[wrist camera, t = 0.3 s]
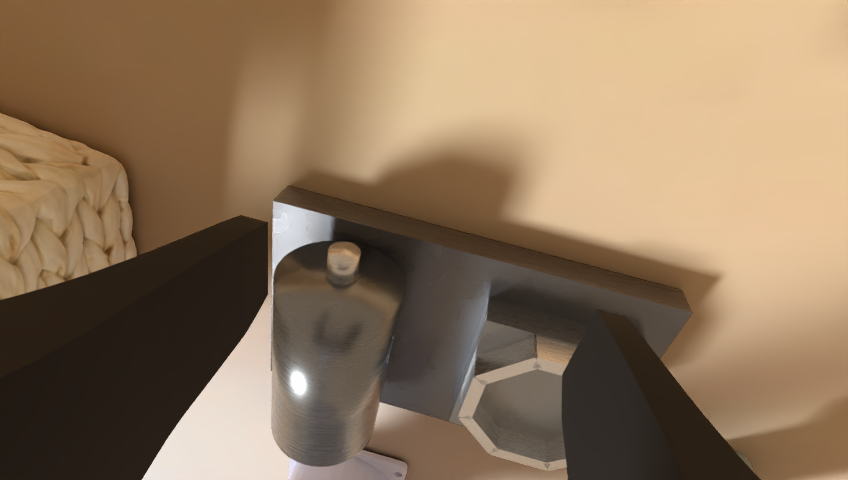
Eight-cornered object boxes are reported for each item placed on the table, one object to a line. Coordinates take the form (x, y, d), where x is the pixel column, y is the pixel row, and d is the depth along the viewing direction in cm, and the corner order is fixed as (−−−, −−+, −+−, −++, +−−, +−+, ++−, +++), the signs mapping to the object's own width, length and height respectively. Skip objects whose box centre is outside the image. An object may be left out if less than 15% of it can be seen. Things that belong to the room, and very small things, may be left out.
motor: (584, 436, 26) (601, 564, 20) (282, 351, 27) (221, 452, 21) (685, 284, 20) (748, 410, 14) (288, 180, 20) (203, 260, 15)
